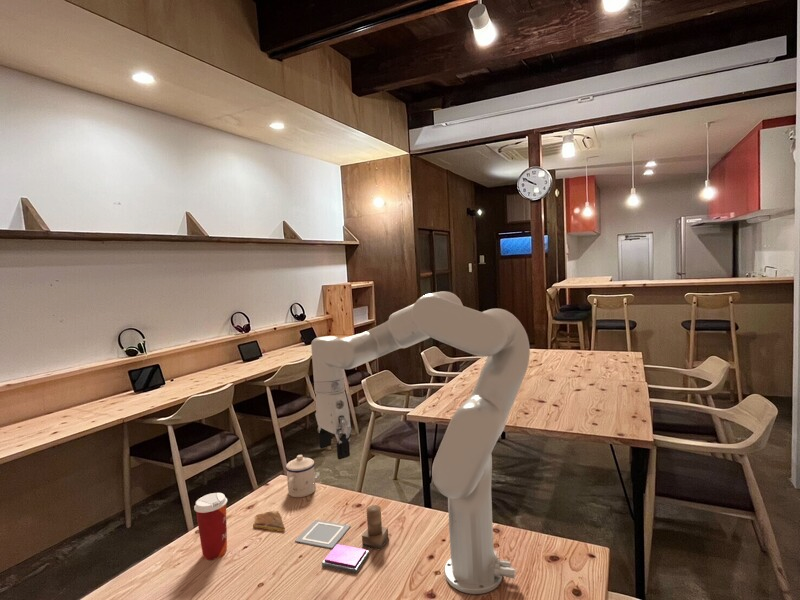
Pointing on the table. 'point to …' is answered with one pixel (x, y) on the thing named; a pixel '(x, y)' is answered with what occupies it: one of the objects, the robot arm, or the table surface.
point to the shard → (269, 521)
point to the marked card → (323, 534)
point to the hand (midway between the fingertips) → (334, 452)
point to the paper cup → (212, 524)
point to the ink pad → (345, 558)
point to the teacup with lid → (301, 477)
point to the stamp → (374, 529)
